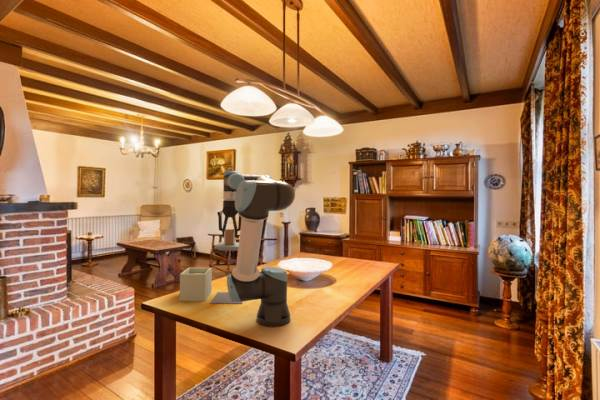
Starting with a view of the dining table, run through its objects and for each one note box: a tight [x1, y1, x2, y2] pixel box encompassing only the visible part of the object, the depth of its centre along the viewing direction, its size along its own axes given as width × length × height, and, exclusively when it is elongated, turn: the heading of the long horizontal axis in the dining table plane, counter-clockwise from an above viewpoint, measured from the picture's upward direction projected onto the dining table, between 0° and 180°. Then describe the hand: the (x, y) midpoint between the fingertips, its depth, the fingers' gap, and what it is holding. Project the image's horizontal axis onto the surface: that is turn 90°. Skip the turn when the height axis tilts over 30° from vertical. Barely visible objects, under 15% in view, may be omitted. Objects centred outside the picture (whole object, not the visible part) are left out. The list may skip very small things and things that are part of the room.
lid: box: [214, 228, 239, 252], centre depth 158 cm, size 13×13×10 cm
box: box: [179, 267, 213, 302], centre depth 160 cm, size 13×13×14 cm
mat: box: [209, 291, 243, 305], centre depth 159 cm, size 16×16×1 cm
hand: (229, 243), depth 158 cm, fingers closed on lid, 4 cm apart
